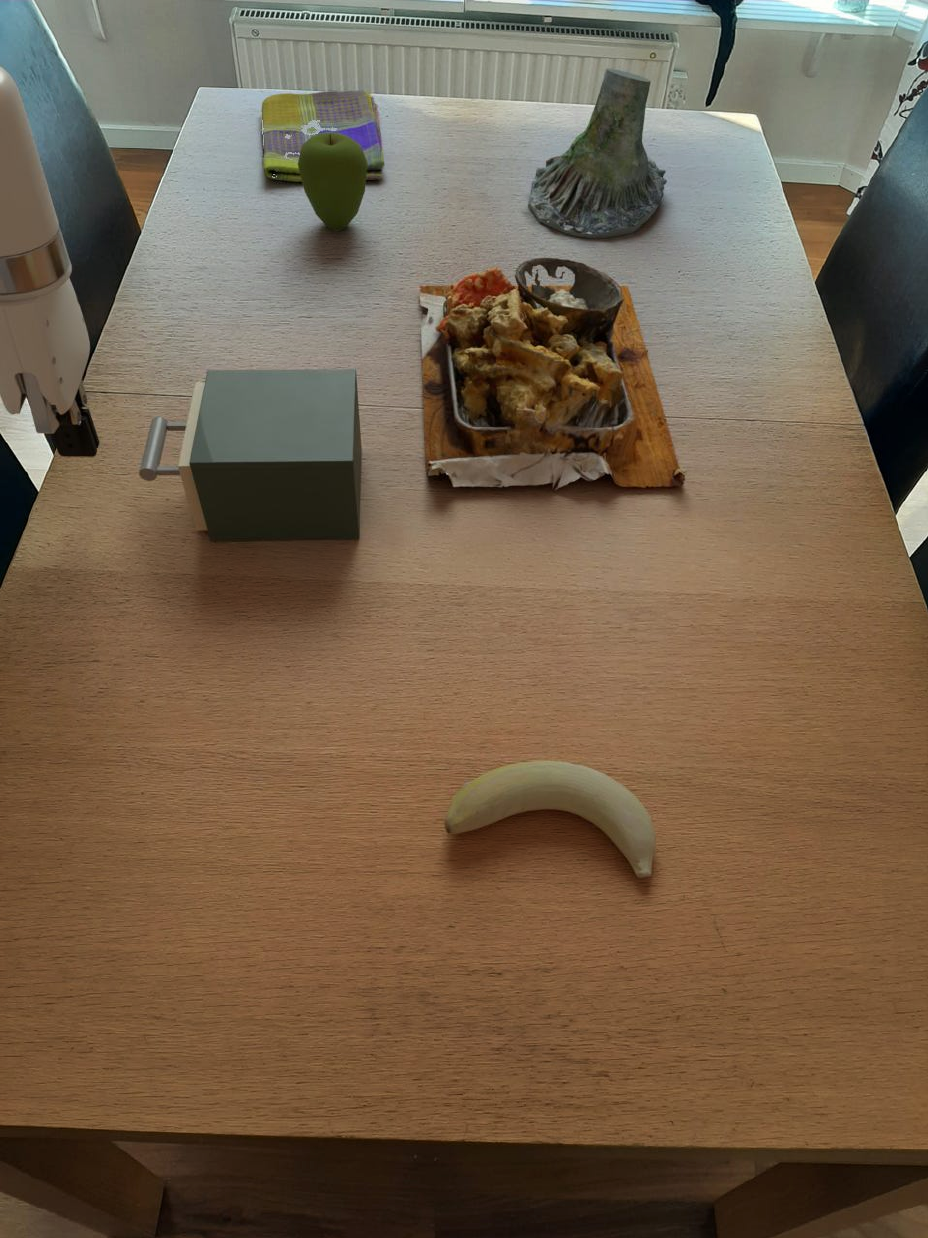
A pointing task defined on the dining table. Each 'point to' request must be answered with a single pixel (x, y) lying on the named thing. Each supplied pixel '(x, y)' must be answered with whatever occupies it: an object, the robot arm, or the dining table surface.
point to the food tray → (540, 383)
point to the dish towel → (333, 109)
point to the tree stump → (603, 168)
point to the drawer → (183, 469)
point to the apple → (333, 177)
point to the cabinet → (279, 455)
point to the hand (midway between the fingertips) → (80, 450)
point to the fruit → (557, 804)
